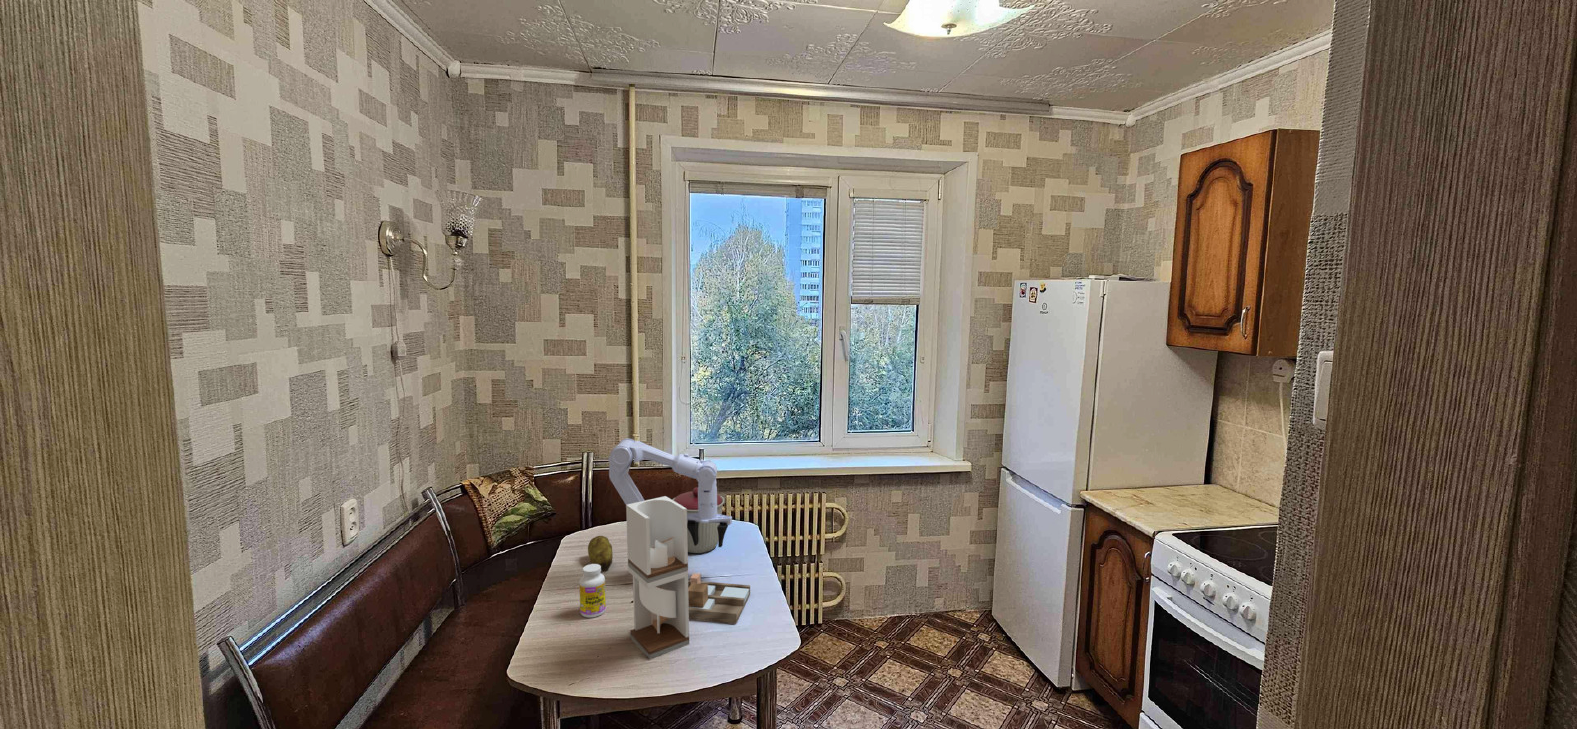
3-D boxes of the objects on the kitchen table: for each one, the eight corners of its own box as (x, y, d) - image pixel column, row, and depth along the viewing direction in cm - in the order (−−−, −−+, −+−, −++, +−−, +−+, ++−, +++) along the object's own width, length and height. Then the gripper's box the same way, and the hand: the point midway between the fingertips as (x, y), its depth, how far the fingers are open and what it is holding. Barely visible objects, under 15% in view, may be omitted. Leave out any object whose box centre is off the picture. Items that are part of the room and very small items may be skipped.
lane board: (657, 616, 166) (656, 606, 166) (677, 588, 182) (677, 579, 181) (736, 624, 162) (736, 614, 162) (750, 594, 178) (750, 585, 178)
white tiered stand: (630, 638, 156) (626, 504, 151) (668, 624, 162) (665, 496, 158) (649, 659, 147) (645, 518, 142) (689, 644, 153) (686, 508, 149)
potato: (584, 574, 190) (583, 549, 189) (589, 556, 203) (589, 533, 202) (612, 572, 192) (611, 547, 191) (616, 554, 204) (615, 531, 203)
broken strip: (689, 598, 174) (689, 580, 173) (695, 589, 179) (695, 571, 178) (744, 603, 171) (744, 584, 170) (749, 593, 176) (748, 575, 176)
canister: (735, 544, 213) (735, 485, 211) (701, 563, 198) (700, 500, 195) (695, 533, 223) (694, 476, 220) (660, 550, 208) (659, 490, 205)
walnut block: (687, 606, 166) (686, 590, 166) (692, 598, 171) (692, 582, 170) (703, 608, 165) (702, 592, 165) (708, 599, 170) (707, 584, 169)
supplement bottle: (582, 621, 163) (580, 575, 162) (578, 609, 169) (576, 565, 168) (608, 615, 167) (606, 570, 165) (603, 604, 172) (601, 560, 171)
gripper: (680, 505, 183) (681, 549, 184) (727, 508, 180) (728, 552, 182) (687, 497, 189) (688, 539, 191) (733, 500, 187) (734, 542, 189)
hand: (708, 545), depth 187 cm, fingers open, 7 cm apart
